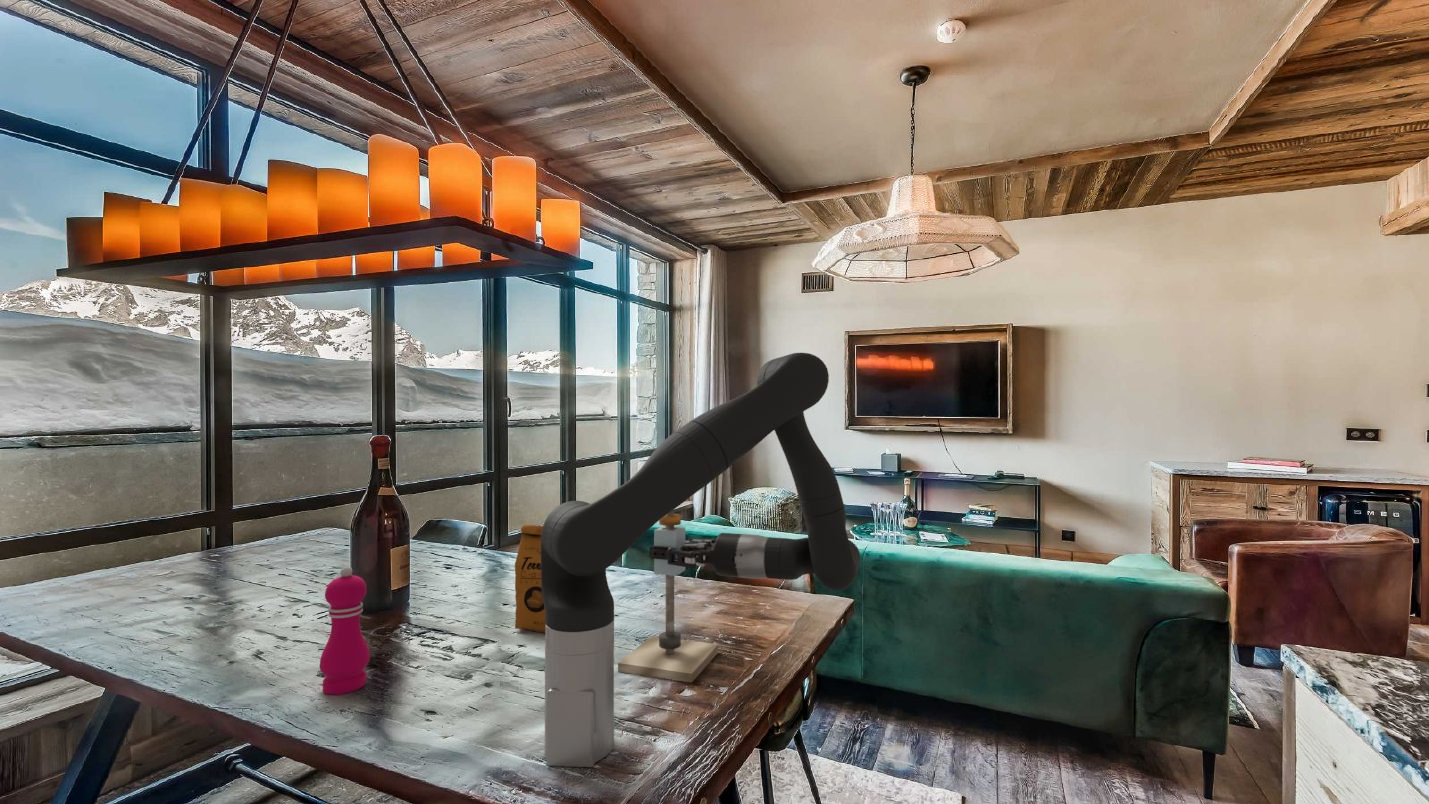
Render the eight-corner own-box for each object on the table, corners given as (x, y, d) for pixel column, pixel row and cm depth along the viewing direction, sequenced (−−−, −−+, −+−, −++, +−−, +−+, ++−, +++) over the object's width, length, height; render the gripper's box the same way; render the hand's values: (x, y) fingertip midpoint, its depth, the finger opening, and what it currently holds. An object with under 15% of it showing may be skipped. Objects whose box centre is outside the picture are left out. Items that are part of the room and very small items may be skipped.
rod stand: (718, 652, 116) (717, 469, 117) (691, 682, 103) (691, 476, 104) (651, 643, 121) (651, 467, 122) (618, 671, 107) (618, 473, 108)
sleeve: (685, 570, 114) (685, 527, 114) (676, 575, 109) (676, 531, 110) (663, 568, 115) (663, 525, 115) (654, 573, 111) (654, 529, 111)
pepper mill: (359, 673, 107) (361, 559, 107) (376, 685, 102) (378, 566, 103) (312, 688, 101) (314, 567, 102) (328, 700, 97) (330, 574, 97)
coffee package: (559, 639, 123) (560, 530, 124) (507, 633, 127) (508, 527, 127) (584, 623, 133) (584, 522, 133) (535, 618, 136) (535, 520, 137)
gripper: (754, 527, 114) (671, 522, 120) (731, 542, 101) (639, 536, 107) (754, 567, 114) (671, 560, 120) (731, 587, 101) (639, 578, 106)
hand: (656, 549), depth 113 cm, fingers open, 4 cm apart
